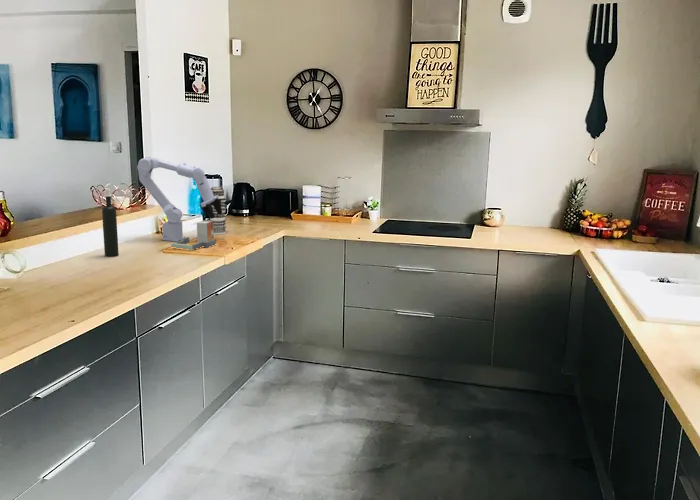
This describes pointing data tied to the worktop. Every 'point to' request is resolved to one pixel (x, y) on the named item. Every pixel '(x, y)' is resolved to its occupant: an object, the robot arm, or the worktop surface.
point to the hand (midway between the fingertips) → (216, 215)
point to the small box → (205, 231)
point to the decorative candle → (219, 218)
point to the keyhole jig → (183, 241)
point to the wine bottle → (110, 227)
